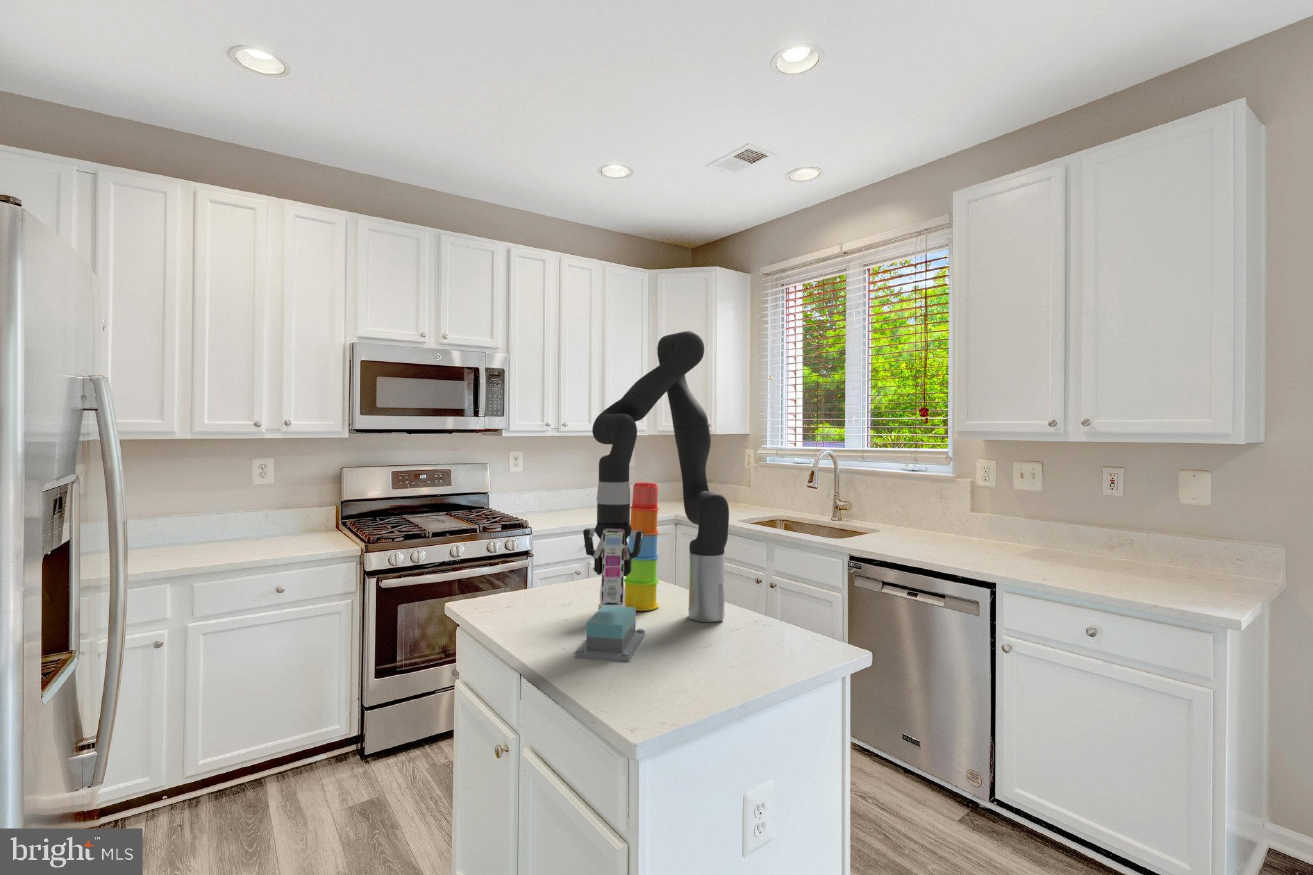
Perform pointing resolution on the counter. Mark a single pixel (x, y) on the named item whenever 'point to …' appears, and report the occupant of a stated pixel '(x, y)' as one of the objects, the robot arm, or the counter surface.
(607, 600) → the candy bar box
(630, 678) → the counter surface
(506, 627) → the counter surface
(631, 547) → the stacking cups
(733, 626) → the counter surface
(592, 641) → the teal gray mounted block
